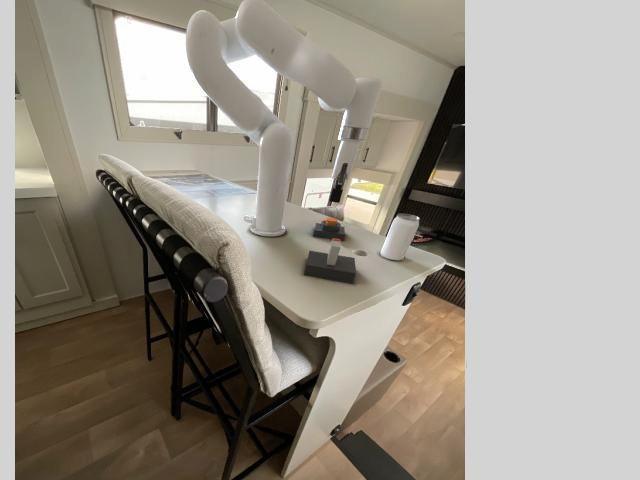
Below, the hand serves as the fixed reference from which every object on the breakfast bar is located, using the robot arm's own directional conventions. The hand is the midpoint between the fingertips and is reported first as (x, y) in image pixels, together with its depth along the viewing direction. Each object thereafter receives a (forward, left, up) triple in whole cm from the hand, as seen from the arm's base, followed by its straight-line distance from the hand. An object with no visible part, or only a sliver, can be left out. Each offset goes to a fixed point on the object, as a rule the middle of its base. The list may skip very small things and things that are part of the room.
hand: (334, 201), depth 82 cm
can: (+20, -11, -11) cm, 25 cm away
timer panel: (+2, -28, -11) cm, 30 cm away
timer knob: (+2, -28, -8) cm, 29 cm away
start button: (+1, 0, -8) cm, 8 cm away
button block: (+1, 0, -11) cm, 11 cm away
